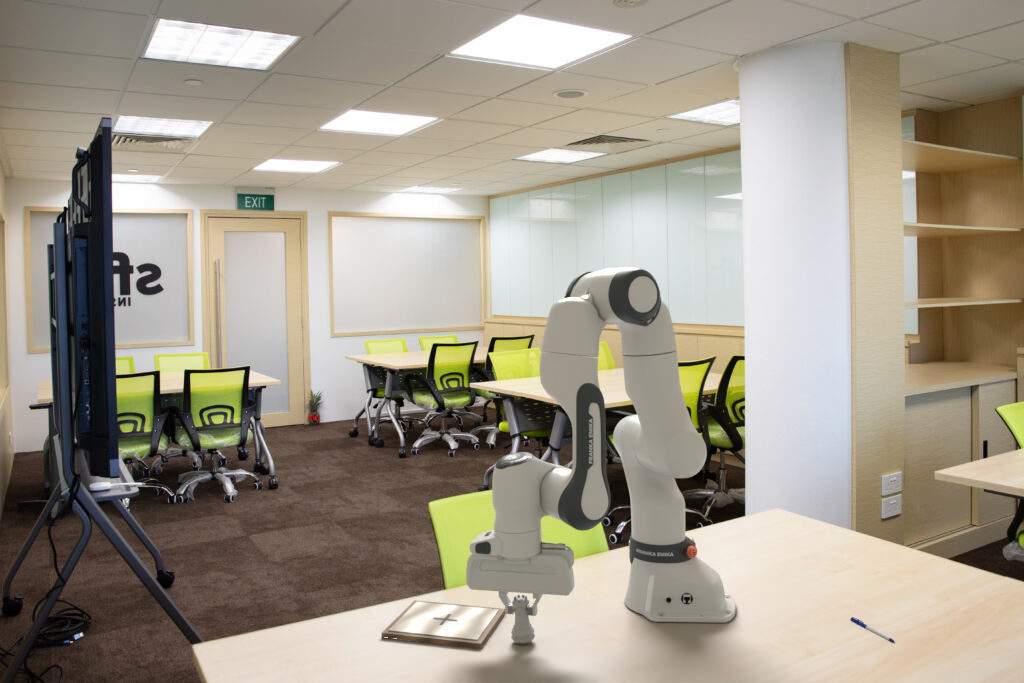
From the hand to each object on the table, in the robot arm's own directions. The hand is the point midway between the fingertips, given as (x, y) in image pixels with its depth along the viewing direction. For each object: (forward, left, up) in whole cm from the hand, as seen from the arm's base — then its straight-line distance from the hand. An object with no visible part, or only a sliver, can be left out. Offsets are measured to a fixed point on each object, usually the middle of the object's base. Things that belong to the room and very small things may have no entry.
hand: (521, 613), depth 142 cm
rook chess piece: (0, 0, -5) cm, 5 cm away
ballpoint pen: (-63, -20, -6) cm, 67 cm away
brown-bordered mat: (+17, -4, -6) cm, 18 cm away
